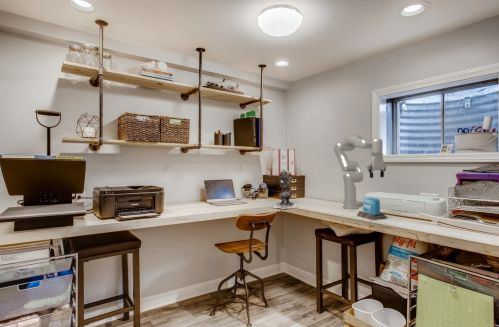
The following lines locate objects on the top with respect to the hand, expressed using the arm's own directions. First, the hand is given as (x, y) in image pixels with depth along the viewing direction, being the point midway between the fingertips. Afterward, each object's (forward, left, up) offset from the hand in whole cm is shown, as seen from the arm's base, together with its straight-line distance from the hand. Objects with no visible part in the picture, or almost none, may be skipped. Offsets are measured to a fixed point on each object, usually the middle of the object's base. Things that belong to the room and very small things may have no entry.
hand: (376, 177), depth 222 cm
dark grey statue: (-62, -49, -29) cm, 84 cm away
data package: (+7, -11, -27) cm, 30 cm away
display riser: (+7, -11, -28) cm, 31 cm away
